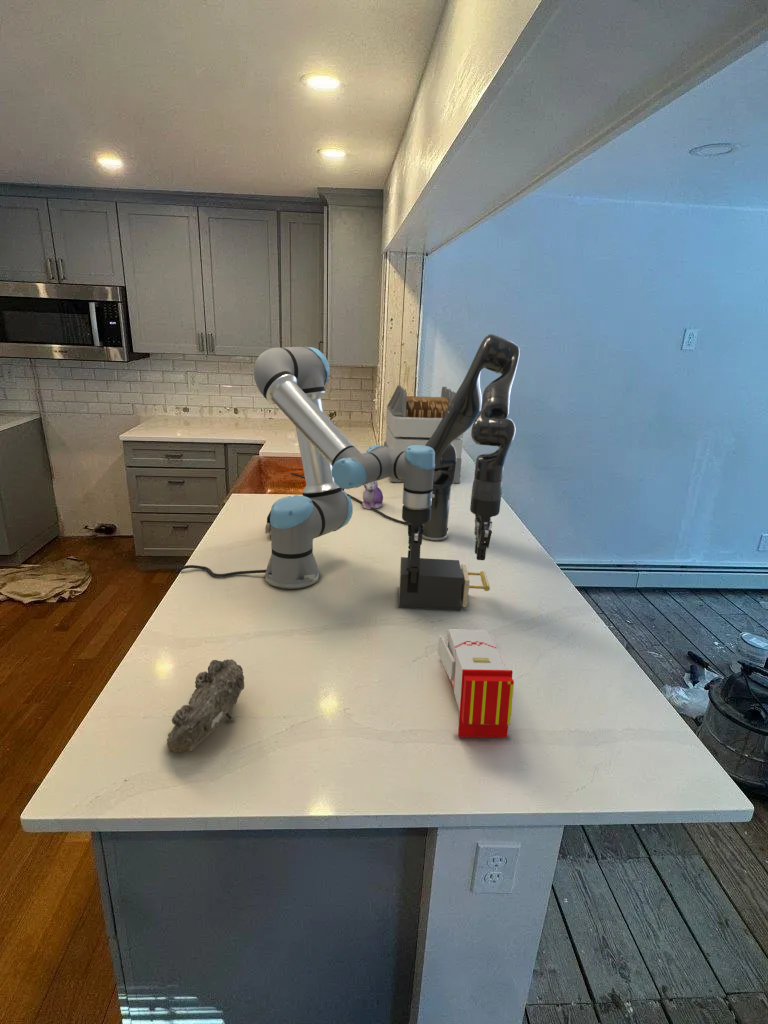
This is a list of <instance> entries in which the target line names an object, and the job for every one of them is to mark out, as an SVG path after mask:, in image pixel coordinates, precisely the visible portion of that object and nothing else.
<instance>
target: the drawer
mask: <svg viewBox="0 0 768 1024" xmlns="http://www.w3.org/2000/svg"><path fill="white" fill-rule="evenodd" d="M460 567H461V571H462V576H463V582H462V592H461V602H460V603H461V607H462V608H467V607H468V600H469V599H468V598H469V590H470V589H477V590H484V592H489V591H490V590H491V587H490V584H489V580H488V578H487V574H486V572H485V571H484V570H481V571H480V572H474V571H473V572H470V571H468V568H467V564H460ZM469 576H479V577H480V581H481V583H482V585H474V584H473V585H470V577H469Z"/></svg>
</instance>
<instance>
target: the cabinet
mask: <svg viewBox="0 0 768 1024" xmlns="http://www.w3.org/2000/svg"><path fill="white" fill-rule="evenodd" d="M460 563H461V562H460V560H459V559H443V558H423V557H420V566H419V568H420V571H419V579H418V593H411V592H407V587H408V571H406V568H409V565H410V558H408V556H407V557H405V556H400V566H399V567H400V570H399V586H398V608H400V609H417V610H418V609H419V610H435V611H454V612H455V611H458V612H460V611H461V603H462V602H461V592H462V582H463V576H462V571H461V564H460Z"/></svg>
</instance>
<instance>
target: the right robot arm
mask: <svg viewBox="0 0 768 1024" xmlns="http://www.w3.org/2000/svg"><path fill="white" fill-rule="evenodd" d="M520 352H521V351H520V347H519V345H518V344H517V343H516V342H515V343H514V342H513V341H510V340H508V339H506V338H504V337H501V336H499V335H495V334H492V333H489V334H487V335H486V336H485V337H484V338H483V340H481V343H480V344H479V346H478V349H477V351H476V353H475V355H474V357H473V359H472V361H471V364H470V366H469V368H468V371H467V372H466V374H465V376H464V378H463V380H462V382H461V384H460V386H459V387H458V389H457V391H456V392H455V393H456V394H455V396H454V398H453V399H452V401H451V403H450V405H449V407H448V409H447V411H446V413H445V415H444V417H443V418H442V420H441V422H440V424H439V425H438V427H437V429H436V430H435V432H434V433H433V435H432V436H431V438H430V439H429V440H428V442H427V443H426V445H425V446H429V447H431V448H433V449H434V451H435V468H434V477H433V491H432V494H434V495H435V497H434V498H432V504H431V506H430V507H431V519H430V521H429V522H428V523H425V524H421V525H423V535H422V539H424V540H426V541H432V542H440V541H444V540H446V539H447V538H448V531H449V527H448V525H449V517H450V516H449V514H450V504H451V494H452V493H451V491H452V486H453V484H454V483H453V481H454V475H455V468H456V450H455V448H454V446H453V445H452V444H450V443H451V442H453V441H454V440H455V439H456V438H458V437H459V436H460V435H462V434H463V435H464V433H466V432H467V431H468V430H469V429H470V428H471V430H470V432H471V434H470V437H471V439H472V441H473V442H474V443H475V444H476V445H478V446H486V447H496V448H497V447H498V448H497V449H496V450H495V451H493V452H488V453H482V454H479V455H478V456H477V457H476V458H475V459H476V460H475V465H474V467H475V468H474V477H473V481H472V486H471V496H470V507H469V511H470V512H471V513H472V514H473V515H474V533H473V534H474V536H475V537H474V539H475V545H474V546H475V547H474V554H475V555H476V560H477V561H485V560H486V556H487V549H489V548H490V543H491V538H492V534H493V531H492V528H493V521H491V520H492V517H497V516H498V515H499V514H500V510H501V502H502V493H503V478H504V468H505V463H506V459H507V455H508V453H509V450H510V448H511V446H512V444H513V441H514V439H515V436H516V432H517V431H516V430H517V429H516V425H515V422H514V421H513V420H512V419H511V418H508V416H509V415H510V414H509V413H510V401H511V391H512V386H513V383H514V380H515V377H516V374H517V373H516V372H517V368H518V365H519V360H520ZM483 369H485V370H488V371H489V372H490V371H491V372H492V373H496V374H498V375H500V376H498V377H497V378H495V379H493V380H492V381H491V382H489V384H487V385H486V387H485V388H484V390H483V392H482V391H481V373H482V370H483ZM290 474H291V475H293V476H296V477H298V478H301V479H304V480H305V475H304V476H303V475H300V474H297V473H294V472H290ZM347 496H349V497H350V499H351V500H354V501H356V502H358V503H360V504H361V505H362V504H363V501H362V500H360V499H358V498H357V497H355V496H353V495H351V494H349V493H347ZM370 510H372V511H374V512H375V513H378V514H379V515H381V516H382V517H384V518H387V519H388V520H391V521H394V522H396V523H399V524H402V525H408V524H410V523H407V522H405V521H404V520H399V519H397V518H395V517H392V516H389V515H387V514H385V513H384V512H381V511H380V510H378V509H377V508H373V507H371V509H370Z"/></svg>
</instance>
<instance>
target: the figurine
mask: <svg viewBox="0 0 768 1024" xmlns="http://www.w3.org/2000/svg"><path fill="white" fill-rule="evenodd" d="M378 485H379V484H378V480H377V481H374V482H370V483H367V484H364V485H363V488H364V491H363V493H362V500H363V501H362V502H363V504H361V505H362V507H363V509H366V510H372V509H371V507H373V508H374V509H378V508H381V507H382V506H383V501H384V496H383V495H384V494H383V492H382V490H381V489H380V488H379V487H378Z"/></svg>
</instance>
